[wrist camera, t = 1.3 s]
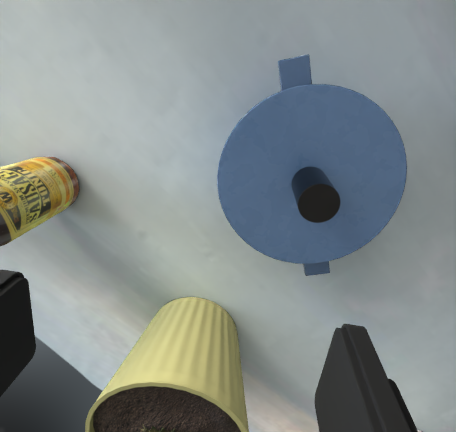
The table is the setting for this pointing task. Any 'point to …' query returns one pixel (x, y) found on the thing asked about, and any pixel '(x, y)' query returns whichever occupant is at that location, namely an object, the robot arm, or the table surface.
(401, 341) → the table surface
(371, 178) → the lid
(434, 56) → the table surface
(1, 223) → the sauce bottle
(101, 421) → the potted cactus
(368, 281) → the table surface
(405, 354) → the table surface
